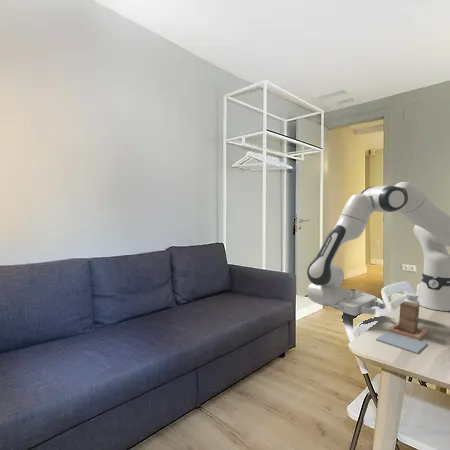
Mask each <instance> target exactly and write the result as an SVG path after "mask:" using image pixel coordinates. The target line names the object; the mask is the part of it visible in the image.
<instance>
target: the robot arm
mask: <svg viewBox="0 0 450 450" xmlns="http://www.w3.org/2000/svg"><path fill="white" fill-rule="evenodd" d="M396 211H400V212H401V213H402V214H404V216H405V217H406V219H408V220H409V221H410V222H411V223H412V224H414V226H413V235H414V237H415V238H416V239H417V240H418V242H419V243H420V246H421V249H422V252H423V253H422V254H423V269H422V271H423V272H422V274H421V282H420V283H418V284H417V287H416V293H415V294H416V295H418V299H417V300H418V301H419V303H420V305H419V307H423V308H427V309H431V310H436V311H441V312H450V253H449V251H448V249H447V247H450V214H448V213H447V212H445V211H444V210H441V209H440V208H439V207H437V206H436V205H435V203H433V202H432V201H431V200H430V199H429V198H428V197H427V196H426V195H425V194H424V193H423V192H422V191H421V190H420V189H418V188H417V187H416V186H415V185H413V184H412V183H411V182H409V181H401V182H398V183H397V182H396V183H395V184H394V185H377V186H369V187H367V188H365V189H364V190H363V189H362V191H361V192H360V193H354V194H352V195H351V196H350V197H349V198H348V200H347V202H346V203H345V205H344V207H343V208H342V211H341V213H340V215H339V218H338V220H337V222H336V223H335V225H334V226H333V227H332V228H331V230H330V231H329V232H328V234H327V236H326V238H325V240H324V242H323V244H322V246H321V248H320V249H319V252H318V253H317V255H316V256H315V258H314V259H313V260H312V261H311V262H310V263H309V264H308V266H307V270H306V271H307V272H306V275H307V278H308V281H310V283H309V285H307V292H306V293H307V296H308V298H309V300H310V301H312V302H313V303H316V304H317V305H321V306H323V307H330V308H332V309H334V310H338V311H340V312H341V313H344V314H347V315H350V316H358V315H359V314H364V315H365V314H367V315H375V314H376V308H374V307H377V308H379V309H381V310H384V309H386V303H383V302H380V301H378V297H377V296H375V295H373V294H370V293H367V292H362V291H359V290H357V289H353V288H352V289H351V288H350V289H347V288H342V286H343V282H344V278H345V273H344V270H343V269H342V268H341V267H340V266H338V265H336V264H332V263H333V261H334V259H335V257H336V255H337V253H338V251H339V249H340V247H341V246H342V245H343V244H345V243H346V242H349V241H353V240H356V239H358V238H360V237H361V235H362V234H363V232H364V231H365V228H366V226H367V224H368V221H369V219H370V217H371V215H372V213H373V212H380V213H382V212H383V213H384V212H385V213H386V212H388V213H392V212H396Z"/></svg>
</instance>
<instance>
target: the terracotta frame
mask: <svg viewBox="0 0 450 450" xmlns="http://www.w3.org/2000/svg"><path fill="white" fill-rule="evenodd" d="M388 331H389V332H392V333H396V334H399V335H402V336H405V337H409V338H412V339H415V340H419V341H420V339H422V337H424V336H425V335H426V334H427V329H425V328H421V327H417V333H416V334H414V335H413V334H409V333H406V332H403V331H399V321H398V322H396V323H395V324H393V325H392V326H391V327H390V328H389V329H388ZM418 332H419V333H418Z"/></svg>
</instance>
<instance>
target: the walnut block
mask: <svg viewBox="0 0 450 450" xmlns="http://www.w3.org/2000/svg"><path fill="white" fill-rule="evenodd" d="M399 305H400V307H399V321H398V322H399V327H398V329H399V331H403V332H406V333H409V334H413V335H414V334H416V333H418V331H417V327H418V325H419V318H418V312H419V313H420V305H419V304H414V303H410V302H406V301H405V302H404V301H403V302H401V303H400V304H399ZM418 328H419V327H418Z"/></svg>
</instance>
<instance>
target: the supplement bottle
mask: <svg viewBox="0 0 450 450" xmlns="http://www.w3.org/2000/svg"><path fill="white" fill-rule="evenodd" d="M405 297H406V298H404V299H403V302H405V301H406V302H410V303H414V304H419V306H420V303H419V301H418V300H417V299H418V295H416V293H412V292H409V293H406V294H405ZM419 315H420V311H419V312H418V319H419V317H420V316H419Z"/></svg>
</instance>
